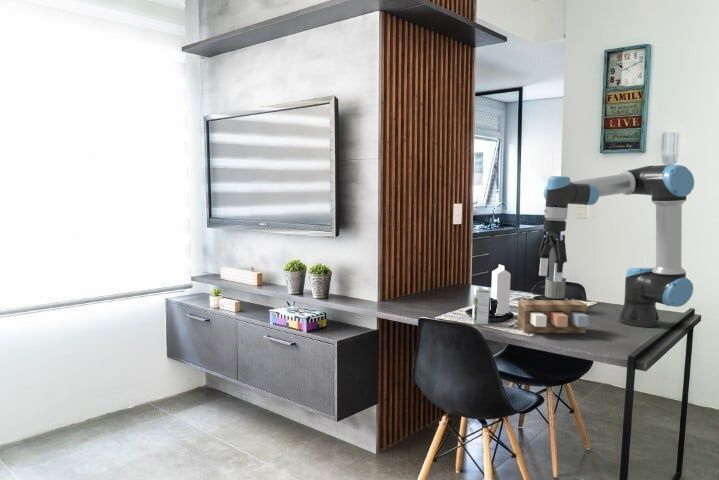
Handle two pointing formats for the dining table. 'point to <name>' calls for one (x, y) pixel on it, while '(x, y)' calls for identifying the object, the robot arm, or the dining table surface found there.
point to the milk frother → (554, 289)
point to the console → (545, 309)
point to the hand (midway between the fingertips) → (549, 278)
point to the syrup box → (480, 305)
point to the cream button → (537, 318)
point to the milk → (501, 289)
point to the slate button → (579, 319)
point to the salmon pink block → (558, 319)
